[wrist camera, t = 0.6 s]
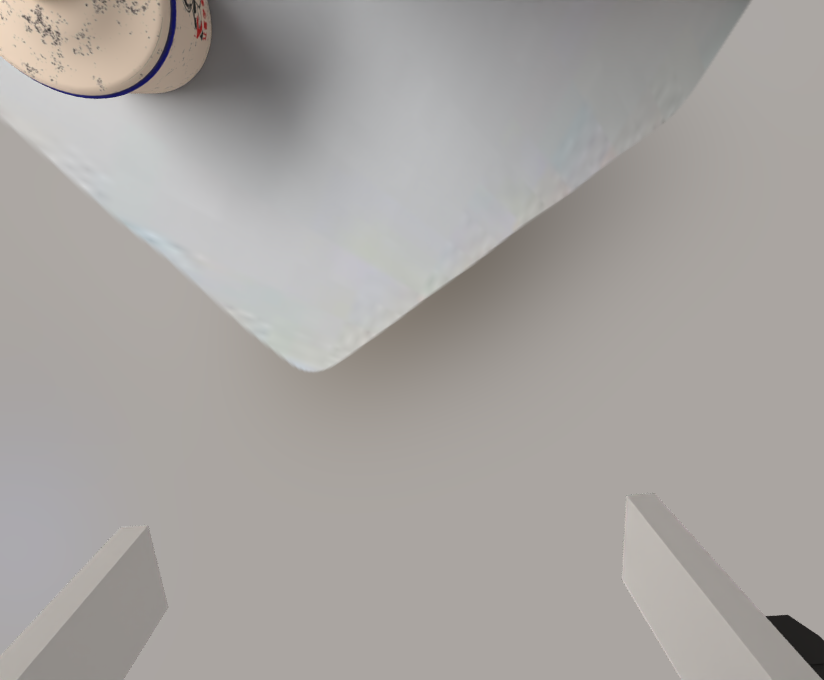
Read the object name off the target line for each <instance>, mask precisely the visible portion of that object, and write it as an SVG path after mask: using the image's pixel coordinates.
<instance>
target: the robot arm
mask: <svg viewBox="0 0 824 680" xmlns="http://www.w3.org/2000/svg"><path fill="white" fill-rule="evenodd" d="M622 581H623V583H624V584H625V586H626V588H627V589H628V591H629V593H630V594H631V596H632V598H633V599H634V601H635V603H636V605H637V606H638V608H639V610H640V611H641V613H642V615H643V616H644V618H645V620H646V621H647V623H648V625H649V627H650V628H651V630H652V632H653V633H654V635H655V637H656V638H657V640H658V642H659V643H660V645H661V647H662V649H663V650H664V652H665V654H666V655H667V657H668V659H669V660H670V662H671V664H672V665H673V667H674V669H675V670H676V672H677V674H678V675H679V677H680V679H681V680H824V640H823V639H822V638H821V637H820V636H818V635H817V634H815V633H814V632H812V631H811V630H809V629H808V628H806V627H805V626H803V625H802V624H800V623H799V622H797V621H796V620H795V619H793V618H792V617H790V616H789V615H779V616H765V615H764V614H763V613H762V612H761V611H760V610H759V609H758V608H757V607H756V606H755V604H754V603H753V602H752V601H751V600H750V599H749V598H748V597H747V595H746V594H745V593H744V592H743V591H742V590H741V589H740V588H739V587H738V585H737V584H736V583H735V582H734V581H733V580H732V579H731V578H730V577H729V575H728V574H727V573H726V572H725V571H724V570H723V569H722V568H721V566H720V565H718V563H717V562H716V561H715V560H714V559H713V558H712V557H711V556H710V554H709V553H708V552H707V551H706V550H705V549H704V548H703V546H701V544H700V543H699V542H698V541H697V540H696V539H695V538H694V536H693V535H692V534H691V533H690V532H689V531H688V530H687V529H686V528H685V526H684V525H683V524H682V523H681V522H680V521H679V520H678V519H677V518H676V516H675V515H674V514H673V513H672V512H671V511H670V510H669V509H668V508H667V506H666V505H665V504H664V503H663V502H662V501H661V500H660V499H659V498H658V497H657V495H655V494H654V493H652V494H651V493H650V494H636V495H626V512H625V531H624V547H623V565H622ZM167 608H168V605H167V600H166V596H165V592H164V588H163V584H162V580H161V576H160V572H159V567H158V563H157V559H156V555H155V551H154V547H153V543H152V539H151V534H150V530H149V526H148V525H145V526H128V527H120V528H119V529H118V530H117V532H116V533H115V534H114V535H113V536H112V537H111V538H110V539H109V540H108V541H107V542H106V543H105V544H104V545H103V546H102V547H101V549H100V550H99V551H98V552H97V553H96V554H95V555H94V556H93V557H92V558H91V559H90V560H89V561H88V563H87V564H86V565H85V566H84V567H83V568H82V569H81V570H80V571H79V572H78V573H77V574H76V575H75V576H74V577H73V578H72V580H71V581H70V582H69V583H68V584H67V585H66V586H65V587H64V588H63V589H62V590H61V591H60V592H59V593H58V595H57V596H56V597H55V598H54V599H53V600H52V601H51V602H50V603H49V604H48V605H47V606H46V607H45V608H44V609H43V611H42V612H41V613H40V614H39V615H38V616H37V617H36V618H35V619H34V620H33V621H32V622H31V623H30V624H29V626H28V627H27V628H26V629H25V630H24V631H23V632H22V633H21V634H20V635H19V636H18V637H17V638H16V639H15V641H14V642H13V643H12V644H11V645H10V646H9V647H8V648H7V649H6V650H5V651H4V652H3V653H2V654H1V656H0V680H124V678H125V676H126V675H127V673H128V672H129V670H130V668H131V667H132V665H133V664H134V662H135V660H136V659H137V657H138V655H139V653H140V652H141V651H142V649H143V647H144V646H145V644H146V643H147V641H148V639H149V638H150V636H151V634H152V633H153V631H154V629H155V628H156V626H157V625H158V623H159V621H160V620H161V618H162V617H163V615H164V613H165V612H166V610H167Z"/></svg>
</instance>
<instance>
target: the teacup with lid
mask: <svg viewBox="0 0 824 680" xmlns="http://www.w3.org/2000/svg"><path fill="white" fill-rule="evenodd" d="M211 32H212V28H211V15H210V10H209V5H208V1H207V0H0V56H2V57H3V58H4V59H5V60H6V61H7V62H9V63H10V64H11V65H13V66H14V67H15V68H17V69H18V70H19V71H21V72H22V73H24V74H25V75H27V76H28V77H30V78H31V79H33V80H35V81H37V82H39V83H41V84H42V85H44V86H47V87H49V88H51V89H53V90H56V91H59V92H62V93H65V94H68V95H72V96H77V97H83V98H93V99H102V98H112V97H117V96H121V95H125V94H127V93H164V92H169V91H172V90H175V89H177V88H179V87H181V86H183V85H185V84H186V83H187V82H189V81H190V80H191V79H192V78H193V77H194V76H195V75H196V74H197V73H198V72H199V70H200V69H201V67H202V66H203V64H204V62H205V60H206V57H207V55H208V51H209V48H210V42H211Z"/></svg>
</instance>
